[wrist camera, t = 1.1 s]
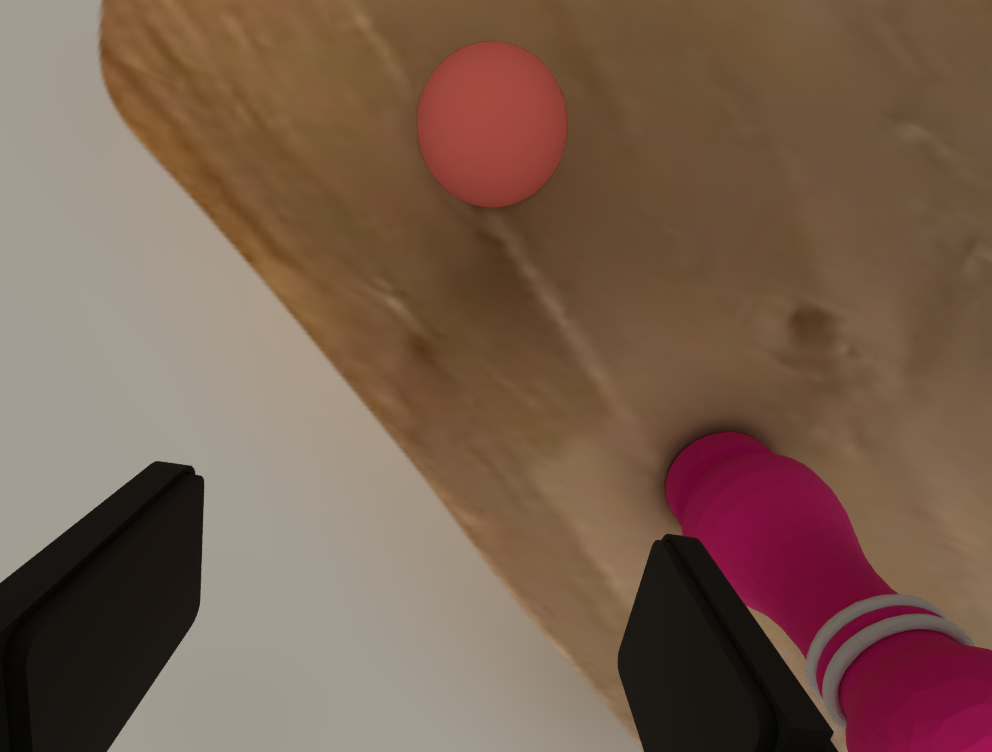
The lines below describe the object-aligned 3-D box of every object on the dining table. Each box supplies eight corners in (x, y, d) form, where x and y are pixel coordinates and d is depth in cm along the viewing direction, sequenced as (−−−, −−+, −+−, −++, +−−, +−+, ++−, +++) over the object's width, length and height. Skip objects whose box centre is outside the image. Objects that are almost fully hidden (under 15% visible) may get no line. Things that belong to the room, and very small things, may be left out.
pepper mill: (631, 508, 30) (904, 1013, 11) (701, 401, 29) (1165, 784, 9) (735, 554, 32) (1138, 1079, 12) (807, 454, 30) (1407, 888, 11)
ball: (568, 81, 24) (599, 39, 18) (539, 219, 25) (559, 221, 20) (434, 50, 23) (422, -2, 17) (414, 194, 25) (397, 188, 19)
